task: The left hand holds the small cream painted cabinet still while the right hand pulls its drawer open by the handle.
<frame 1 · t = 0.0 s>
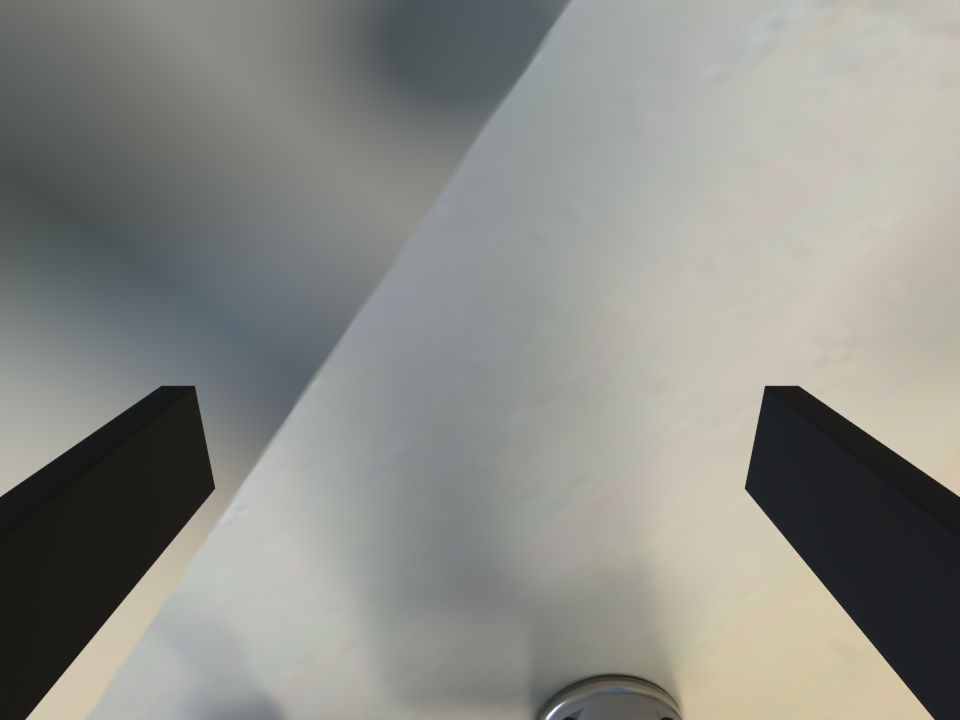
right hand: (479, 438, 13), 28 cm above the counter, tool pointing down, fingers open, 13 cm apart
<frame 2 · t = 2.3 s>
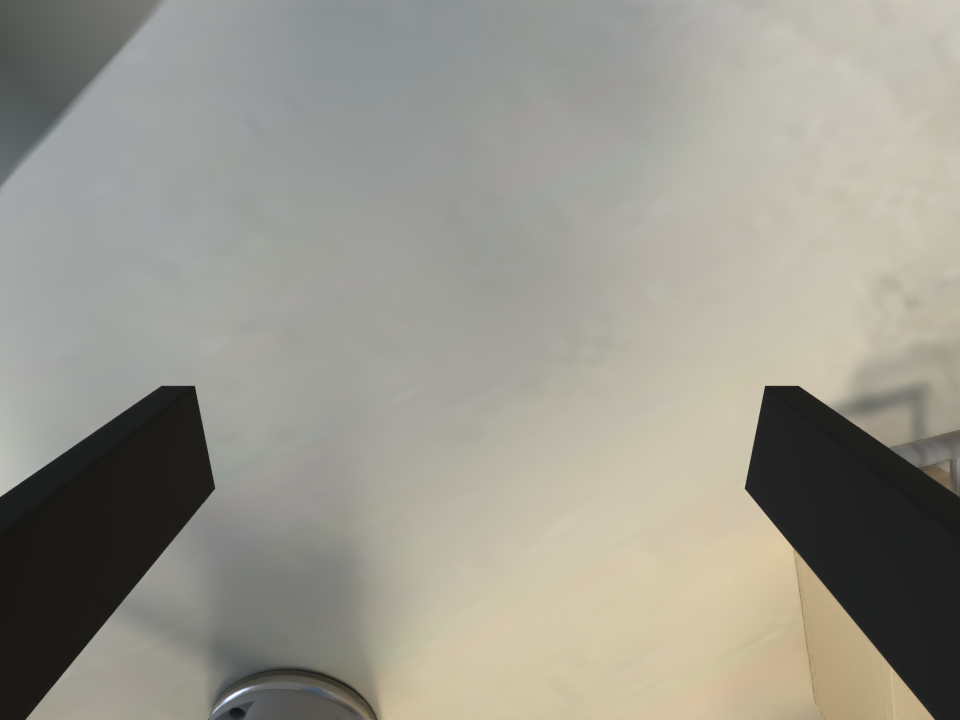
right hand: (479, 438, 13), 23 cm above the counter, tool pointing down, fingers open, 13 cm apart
drawer: (917, 595, 37), point 5 cm above the counter, slide at 1.7 cm
cabinet: (870, 605, 44), on the counter
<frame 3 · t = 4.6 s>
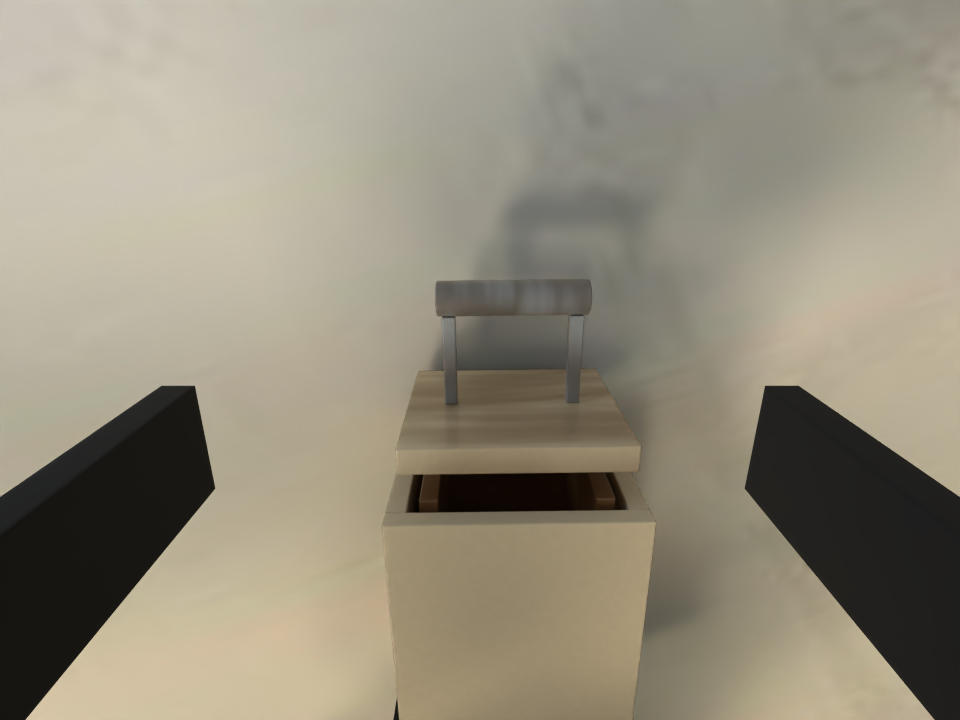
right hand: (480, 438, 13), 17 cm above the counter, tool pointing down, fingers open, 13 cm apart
drawer: (510, 517, 27), point 5 cm above the counter, slide at 1.7 cm
cabinet: (505, 549, 34), on the counter, touching left hand
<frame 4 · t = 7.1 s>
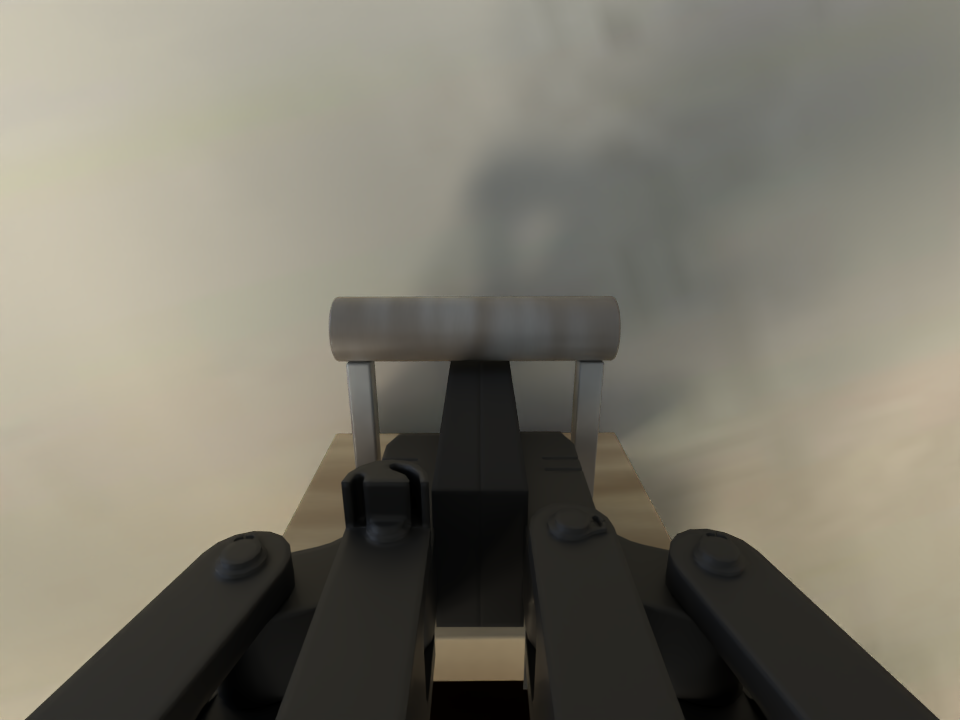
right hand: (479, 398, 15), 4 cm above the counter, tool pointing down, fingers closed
drawer: (476, 681, 17), point 5 cm above the counter, slide at 1.9 cm, touching right hand
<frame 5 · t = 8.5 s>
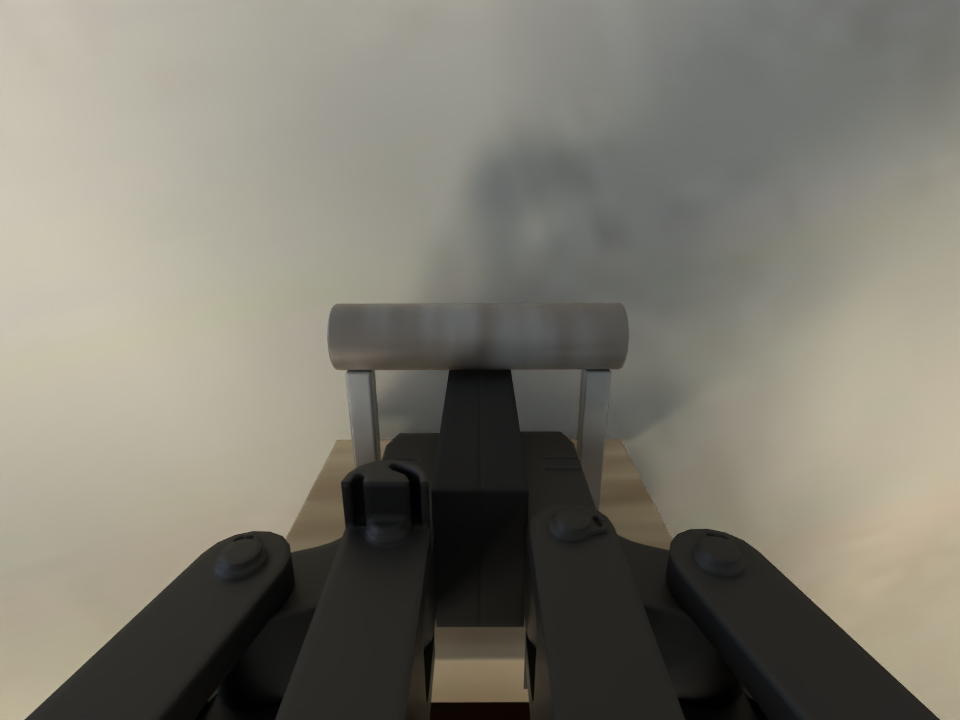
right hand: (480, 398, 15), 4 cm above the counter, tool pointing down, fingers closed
drawer: (479, 693, 16), point 5 cm above the counter, slide at 7.5 cm, touching right hand
when the left hand's fingers open (6 cm above the counter, at t = 10.1 s): cabinet stays where it is, on the counter.
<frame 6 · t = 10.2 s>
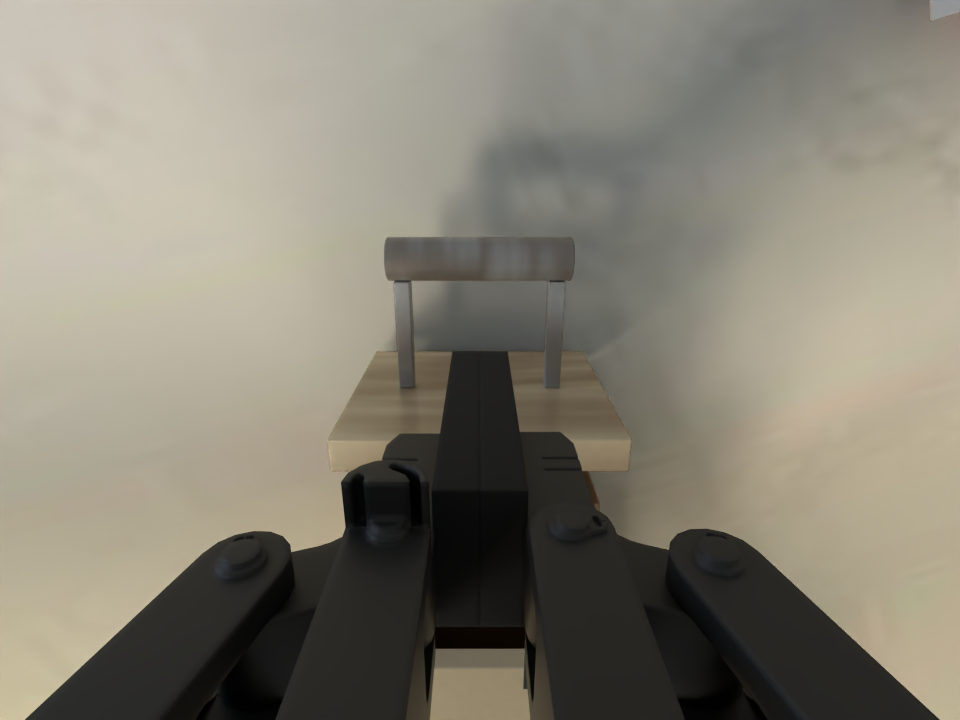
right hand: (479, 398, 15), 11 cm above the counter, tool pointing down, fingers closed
drawer: (479, 523, 23), point 5 cm above the counter, slide at 7.5 cm
cabinet: (479, 636, 32), on the counter
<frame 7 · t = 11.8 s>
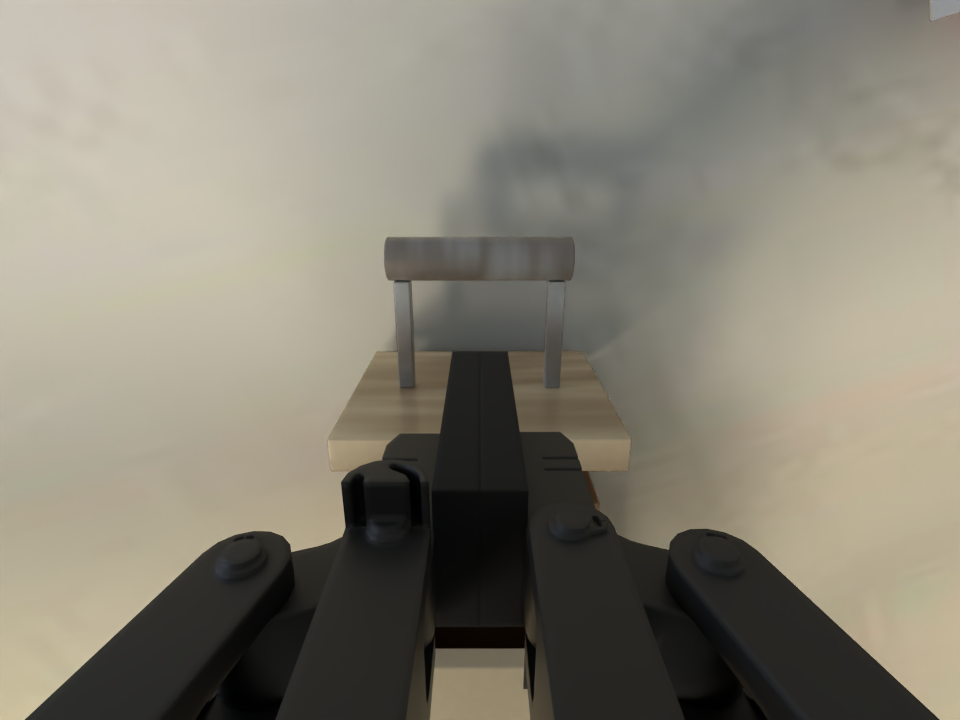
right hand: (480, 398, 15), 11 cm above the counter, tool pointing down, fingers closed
drawer: (479, 523, 23), point 5 cm above the counter, slide at 7.5 cm
cabinet: (479, 636, 32), on the counter
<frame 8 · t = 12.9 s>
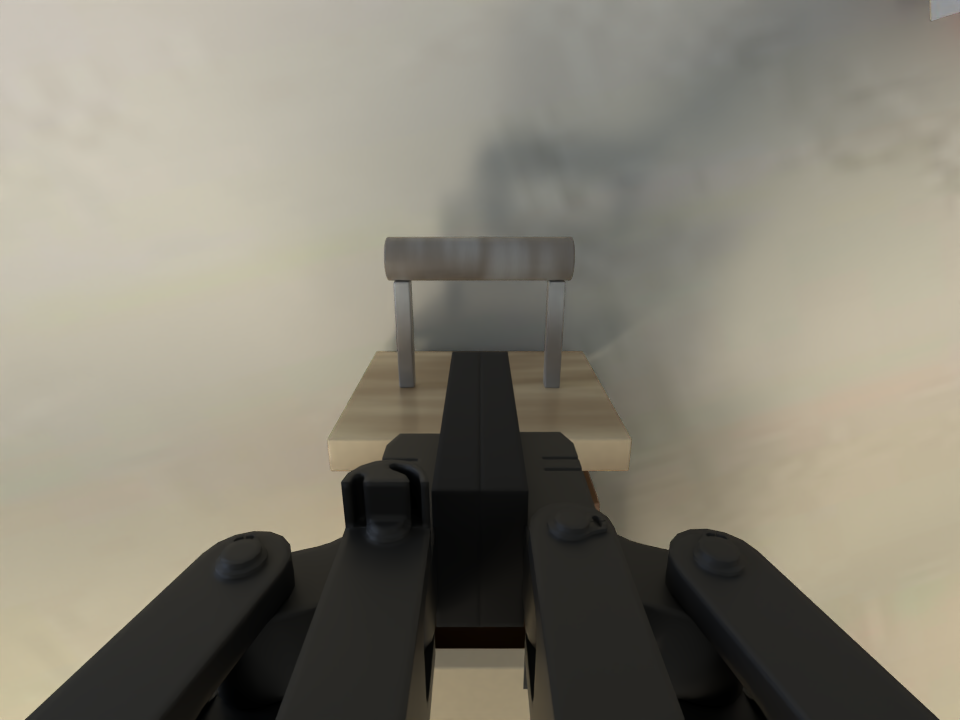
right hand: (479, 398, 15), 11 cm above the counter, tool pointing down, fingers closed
drawer: (479, 523, 23), point 5 cm above the counter, slide at 7.5 cm
cabinet: (479, 636, 32), on the counter
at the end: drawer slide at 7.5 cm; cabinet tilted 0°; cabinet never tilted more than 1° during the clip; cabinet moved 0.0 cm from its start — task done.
